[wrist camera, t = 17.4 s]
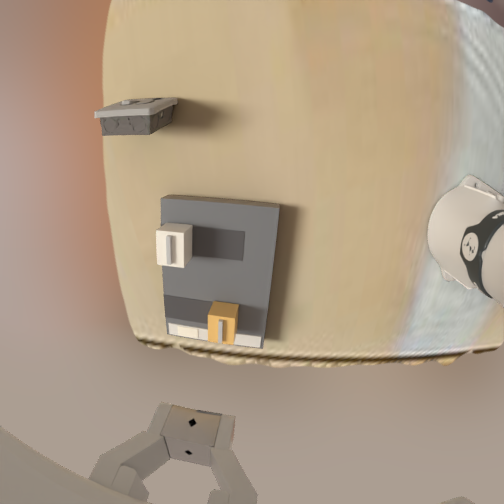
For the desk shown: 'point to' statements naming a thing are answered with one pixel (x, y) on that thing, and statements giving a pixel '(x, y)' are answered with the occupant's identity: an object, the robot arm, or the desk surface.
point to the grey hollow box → (136, 116)
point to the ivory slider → (174, 244)
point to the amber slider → (223, 322)
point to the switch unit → (221, 265)
